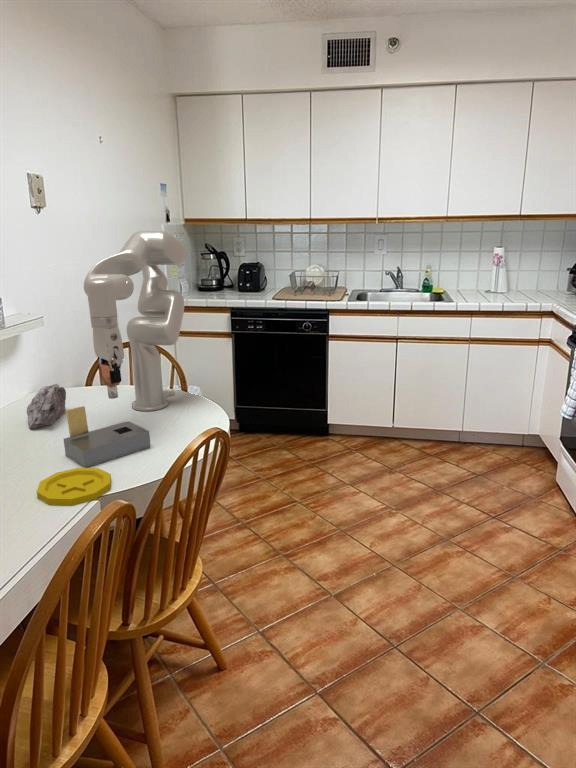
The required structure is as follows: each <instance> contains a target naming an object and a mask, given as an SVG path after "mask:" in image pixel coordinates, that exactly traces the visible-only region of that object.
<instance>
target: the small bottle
mask: <svg viewBox="0 0 576 768" xmlns="http://www.w3.org/2000/svg"><path fill="white" fill-rule="evenodd" d="M112 363H113V365H114V363H116V361H115V362H112ZM101 371H102V379H101V380H102V385H103V386H105V387H106V389H107V395H108V399H112V400H114V399H118V398H119V393H118V385H120V384H121V382H118V383H114V384H112V383H111V380H110V372H109V371H111V369H110V365H109V362H105V363H102V364H101ZM101 371H100V372H101Z"/></svg>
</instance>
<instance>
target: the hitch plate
mask: <svg viewBox="0 0 576 768" xmlns="http://www.w3.org/2000/svg"><path fill="white" fill-rule="evenodd" d="M150 436H151V435H150V430H148V429H146V428H143V427H142V426H139V425H138V424H135V423H133V422H131V421H129V420H127V421H123V422H120V423H117V424H112V425H109V426H105V427H102V428H98V429H94V430H91V431H89V432H88V433H86V434H82V435H78V436H75V437H70V436H69V437H66V438H63V446H64V453H65V456H66V457H68V458H69V459H70V458H71V460H72V461H73V460H74V461H73V462H75V463H77V464H78V465H79V466H81V468H91V467H93V466H96V465H99V464H102V463H105V462H109V461H112V460H116V459H119V458H122V457H125V456H128V455H131V454H135V453H137V452H141V451H143V450H146V449H151V438H150Z"/></svg>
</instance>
